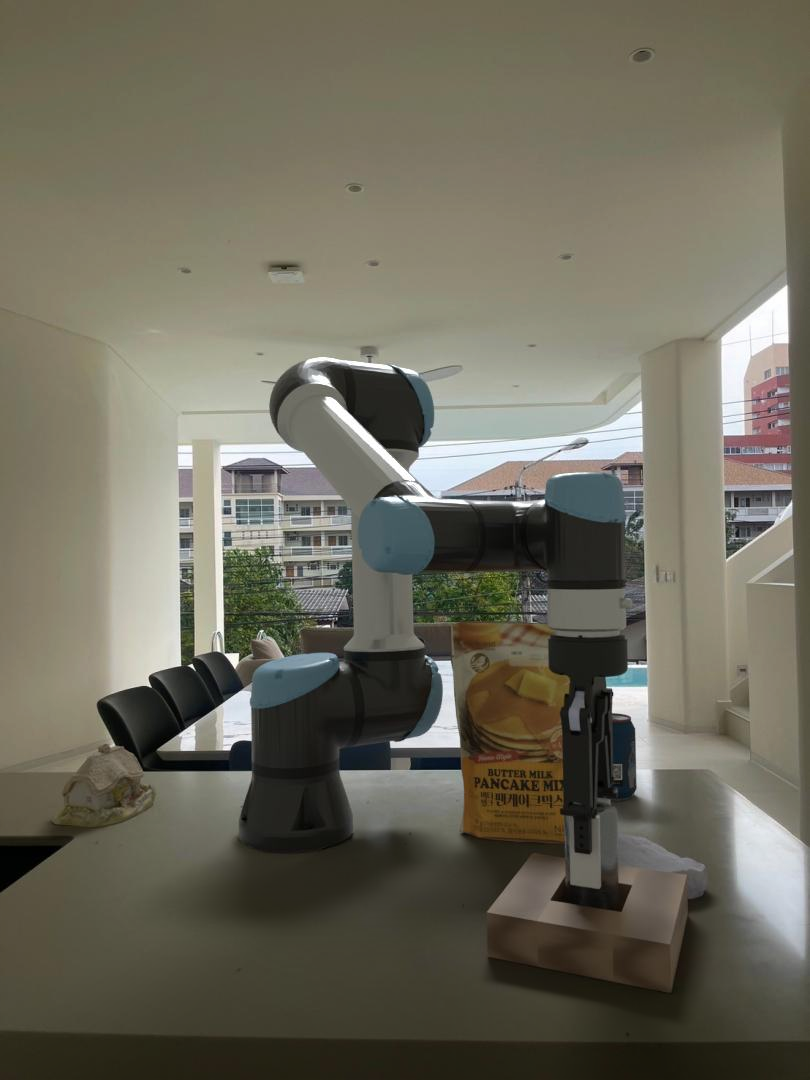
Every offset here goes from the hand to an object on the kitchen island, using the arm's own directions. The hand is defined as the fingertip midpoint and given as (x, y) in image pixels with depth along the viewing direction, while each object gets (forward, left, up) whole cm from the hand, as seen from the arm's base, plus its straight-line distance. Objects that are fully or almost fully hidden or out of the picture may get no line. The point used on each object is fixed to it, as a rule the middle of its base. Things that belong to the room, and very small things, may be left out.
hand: (591, 873), depth 77 cm
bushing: (0, 0, -3) cm, 3 cm away
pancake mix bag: (-14, +25, -6) cm, 29 cm away
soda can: (-6, +47, -6) cm, 48 cm away
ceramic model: (-73, +11, -6) cm, 74 cm away
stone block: (+3, +15, -6) cm, 17 cm away
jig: (0, 0, -6) cm, 6 cm away
